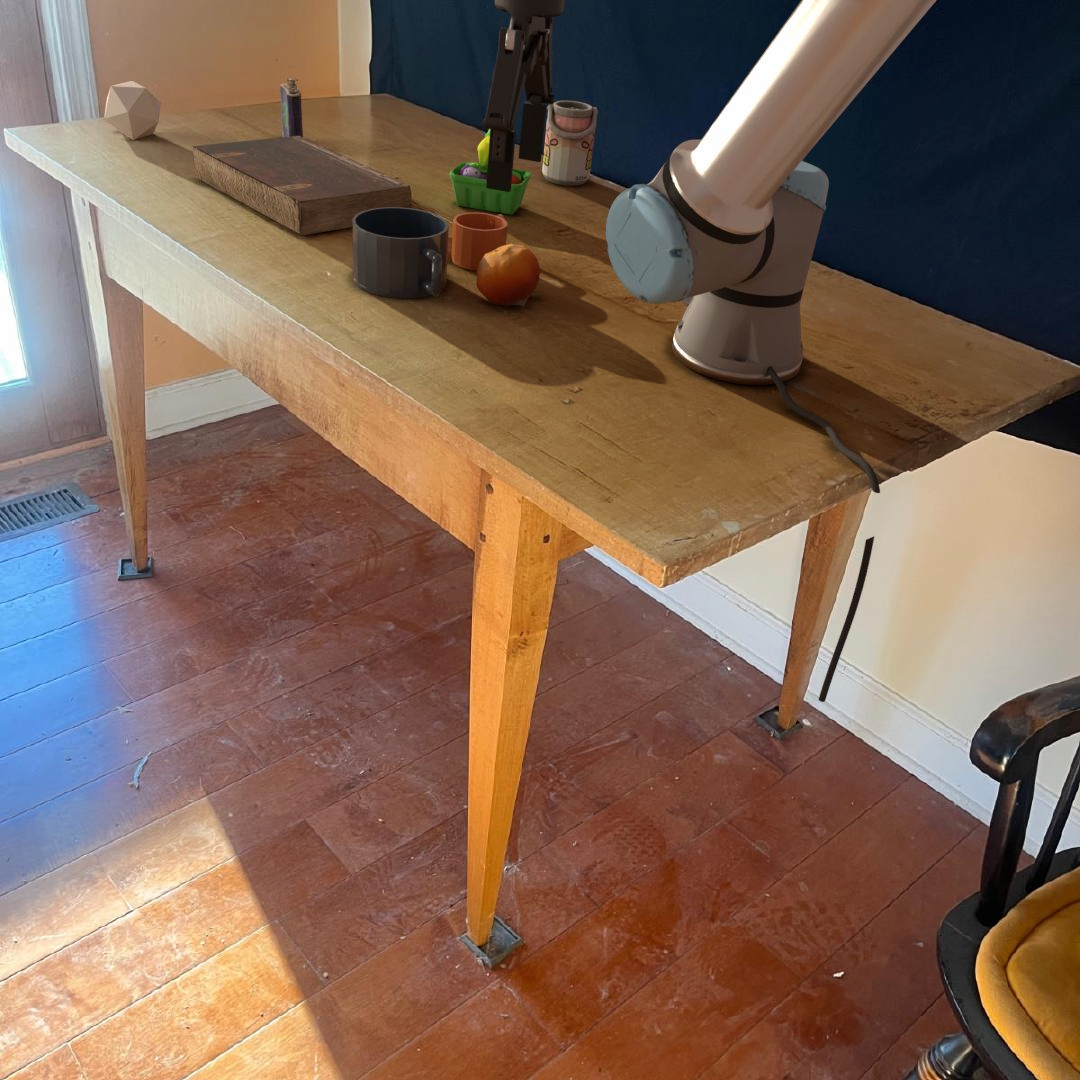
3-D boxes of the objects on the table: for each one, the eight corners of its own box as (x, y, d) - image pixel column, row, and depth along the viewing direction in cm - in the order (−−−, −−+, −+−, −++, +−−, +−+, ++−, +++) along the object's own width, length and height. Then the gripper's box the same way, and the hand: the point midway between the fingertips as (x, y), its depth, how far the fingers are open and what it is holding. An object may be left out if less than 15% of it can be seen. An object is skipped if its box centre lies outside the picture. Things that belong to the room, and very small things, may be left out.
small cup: (489, 275, 137) (492, 234, 133) (442, 262, 139) (443, 222, 136) (522, 253, 144) (525, 214, 141) (476, 242, 147) (479, 203, 143)
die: (172, 144, 173) (171, 86, 174) (131, 124, 165) (130, 63, 166) (135, 154, 177) (133, 97, 177) (92, 135, 169) (91, 75, 169)
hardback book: (410, 217, 153) (411, 182, 150) (302, 238, 141) (300, 201, 138) (301, 164, 169) (300, 132, 166) (196, 179, 157) (192, 145, 155)
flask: (280, 137, 181) (278, 71, 175) (297, 137, 182) (295, 72, 176) (289, 152, 174) (287, 84, 168) (307, 152, 175) (305, 85, 169)
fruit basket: (446, 206, 158) (449, 130, 152) (463, 191, 165) (467, 117, 159) (517, 219, 157) (524, 142, 150) (531, 203, 164) (538, 129, 157)
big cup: (336, 270, 133) (335, 212, 129) (417, 258, 139) (418, 203, 135) (394, 315, 123) (395, 254, 119) (478, 300, 129) (482, 241, 125)
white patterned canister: (590, 191, 172) (599, 115, 165) (540, 185, 172) (547, 110, 165) (589, 175, 180) (597, 102, 173) (541, 170, 179) (548, 97, 172)
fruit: (546, 307, 126) (517, 247, 122) (490, 329, 129) (461, 271, 125) (558, 284, 132) (531, 226, 129) (504, 306, 135) (477, 250, 132)
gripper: (528, -45, 120) (513, 143, 132) (462, -22, 100) (450, 197, 112) (591, -36, 119) (569, 153, 131) (536, -11, 99) (516, 209, 111)
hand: (514, 174), depth 122 cm, fingers open, 13 cm apart
